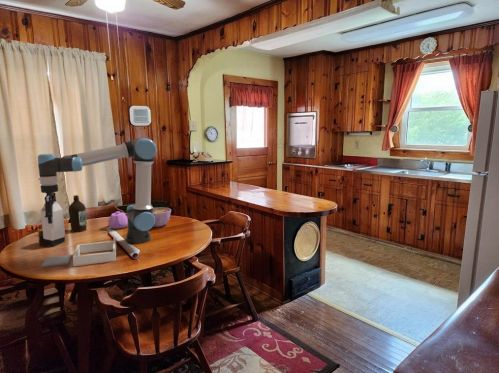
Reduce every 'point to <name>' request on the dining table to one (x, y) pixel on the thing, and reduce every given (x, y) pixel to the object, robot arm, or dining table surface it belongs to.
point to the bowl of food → (161, 216)
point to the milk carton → (58, 223)
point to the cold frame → (97, 257)
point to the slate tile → (56, 261)
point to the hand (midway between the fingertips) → (53, 226)
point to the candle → (49, 242)
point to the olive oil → (77, 215)
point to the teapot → (118, 220)
